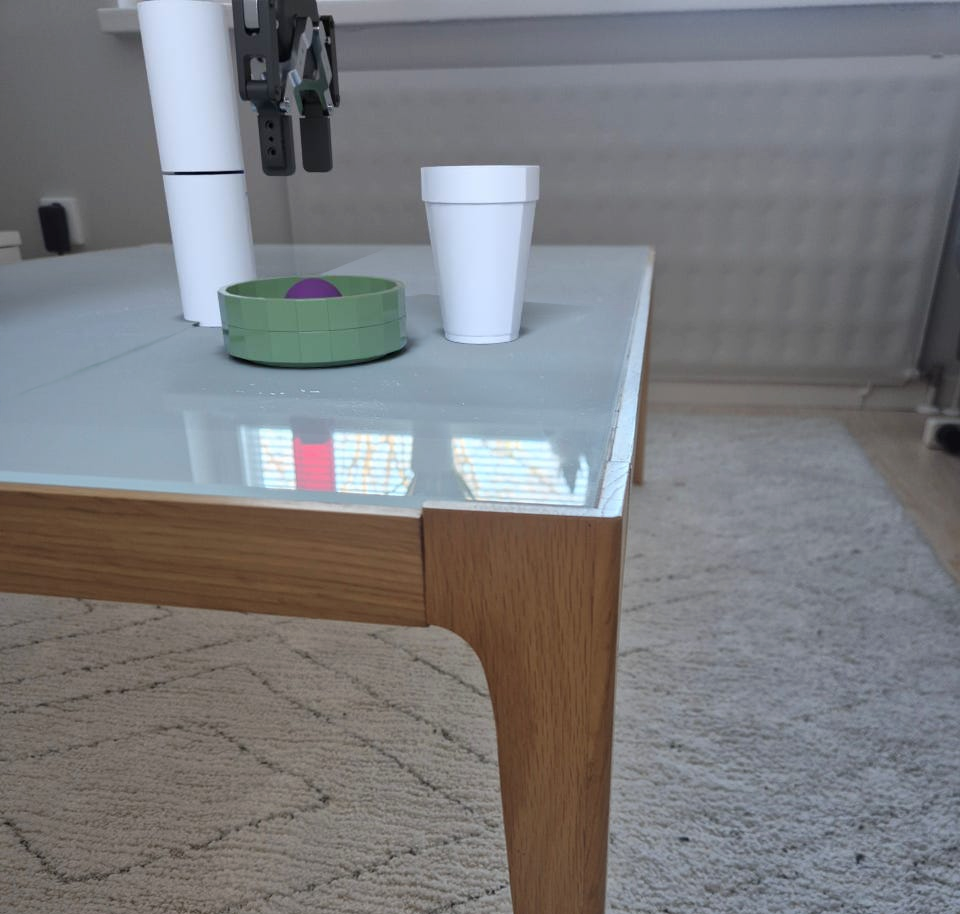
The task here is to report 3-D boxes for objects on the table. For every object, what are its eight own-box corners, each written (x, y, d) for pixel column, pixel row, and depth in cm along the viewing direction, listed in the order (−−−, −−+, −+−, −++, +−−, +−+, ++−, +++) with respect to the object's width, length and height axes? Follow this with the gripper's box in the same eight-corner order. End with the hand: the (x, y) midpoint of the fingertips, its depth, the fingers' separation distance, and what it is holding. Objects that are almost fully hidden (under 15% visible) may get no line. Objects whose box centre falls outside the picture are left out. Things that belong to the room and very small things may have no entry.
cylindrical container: (170, 325, 87) (118, 2, 75) (207, 313, 93) (165, 12, 82) (240, 327, 86) (199, -2, 74) (274, 315, 92) (240, 8, 80)
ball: (276, 350, 73) (269, 282, 71) (298, 338, 77) (291, 273, 75) (338, 351, 72) (332, 282, 70) (356, 339, 77) (352, 274, 74)
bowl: (196, 369, 70) (186, 298, 68) (266, 334, 82) (259, 274, 80) (381, 373, 68) (376, 301, 66) (424, 337, 80) (421, 275, 78)
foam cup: (465, 324, 86) (462, 165, 80) (555, 332, 82) (560, 165, 76) (405, 341, 79) (398, 168, 73) (501, 351, 75) (501, 168, 69)
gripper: (264, -78, 68) (284, 171, 76) (176, -127, 56) (211, 176, 64) (363, -81, 67) (374, 172, 75) (297, -132, 55) (318, 177, 62)
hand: (299, 174), depth 69 cm, fingers open, 8 cm apart
